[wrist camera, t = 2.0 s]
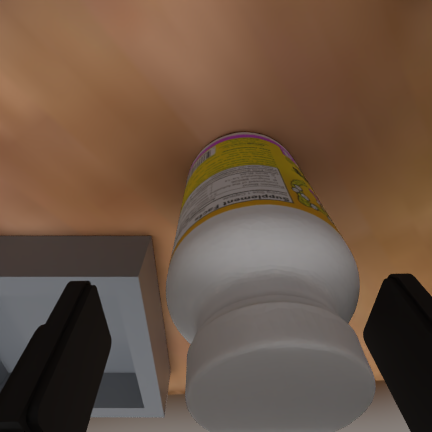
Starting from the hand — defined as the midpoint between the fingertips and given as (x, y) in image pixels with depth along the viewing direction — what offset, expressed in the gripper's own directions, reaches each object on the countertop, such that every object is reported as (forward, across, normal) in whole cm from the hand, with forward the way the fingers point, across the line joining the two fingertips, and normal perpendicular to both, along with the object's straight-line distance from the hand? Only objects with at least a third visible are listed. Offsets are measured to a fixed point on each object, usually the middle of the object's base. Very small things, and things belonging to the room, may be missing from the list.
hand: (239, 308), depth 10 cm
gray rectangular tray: (+10, +13, +12) cm, 20 cm away
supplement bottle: (+10, -1, 0) cm, 10 cm away
